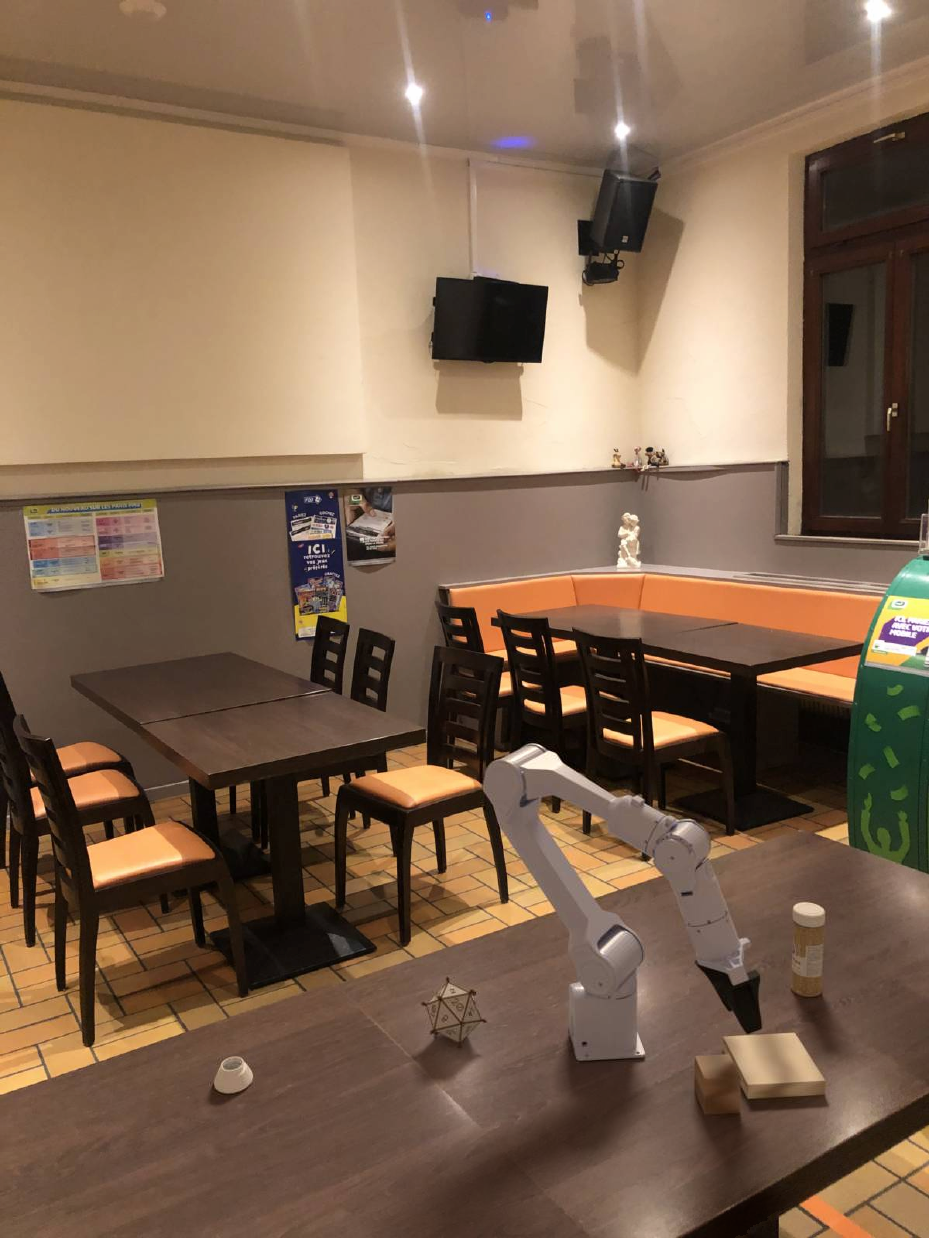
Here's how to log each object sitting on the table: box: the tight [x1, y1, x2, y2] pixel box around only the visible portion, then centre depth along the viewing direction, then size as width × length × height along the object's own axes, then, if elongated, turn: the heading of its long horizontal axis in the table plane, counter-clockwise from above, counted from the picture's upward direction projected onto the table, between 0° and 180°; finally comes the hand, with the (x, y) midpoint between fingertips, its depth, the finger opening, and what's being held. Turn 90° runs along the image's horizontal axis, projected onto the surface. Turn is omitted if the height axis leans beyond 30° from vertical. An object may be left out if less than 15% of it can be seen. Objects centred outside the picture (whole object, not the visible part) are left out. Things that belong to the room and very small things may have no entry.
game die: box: [420, 975, 488, 1051], centre depth 132 cm, size 9×8×10 cm
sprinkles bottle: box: [790, 901, 826, 998], centre depth 140 cm, size 5×5×14 cm
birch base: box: [722, 1032, 826, 1100], centre depth 123 cm, size 10×10×2 cm
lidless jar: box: [213, 1056, 254, 1094], centre depth 125 cm, size 5×3×5 cm
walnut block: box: [693, 1053, 742, 1115], centre depth 118 cm, size 4×4×5 cm
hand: (744, 1019), depth 118 cm, fingers open, 7 cm apart
